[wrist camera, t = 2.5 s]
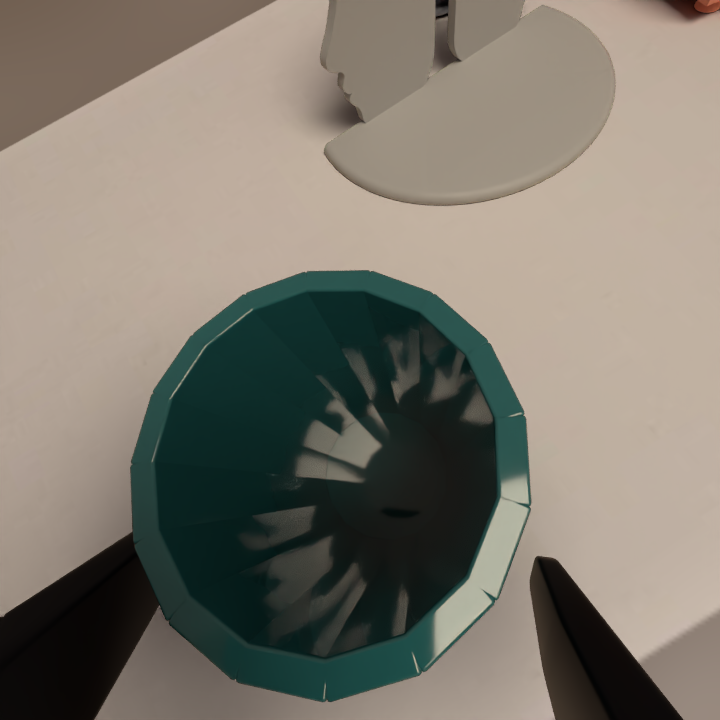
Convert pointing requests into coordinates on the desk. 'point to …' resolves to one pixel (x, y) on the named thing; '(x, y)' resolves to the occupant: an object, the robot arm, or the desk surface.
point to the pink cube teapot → (707, 5)
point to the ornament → (463, 97)
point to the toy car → (441, 7)
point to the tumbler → (330, 484)
